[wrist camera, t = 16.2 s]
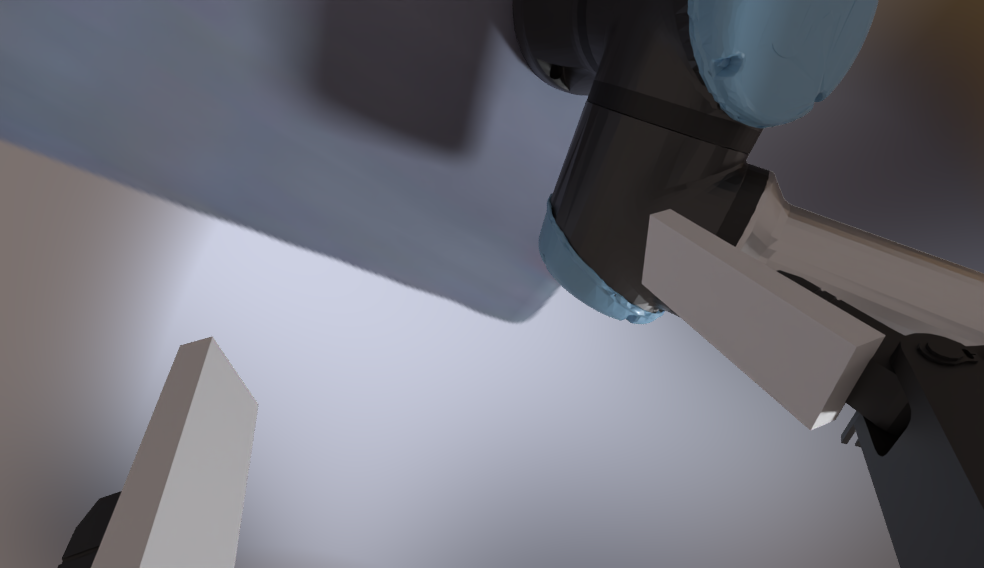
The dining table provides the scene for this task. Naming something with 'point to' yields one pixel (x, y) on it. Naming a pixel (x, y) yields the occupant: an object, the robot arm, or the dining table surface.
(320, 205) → the dining table surface
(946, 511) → the robot arm
